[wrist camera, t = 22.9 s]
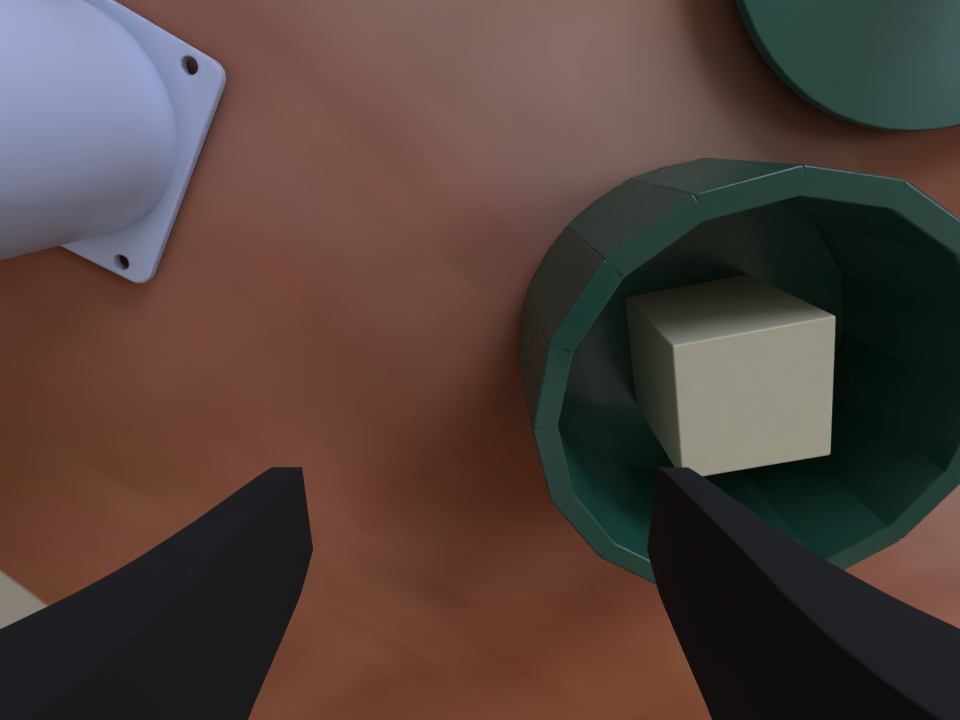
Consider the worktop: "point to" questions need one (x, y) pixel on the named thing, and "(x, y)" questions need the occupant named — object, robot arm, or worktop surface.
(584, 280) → the tea tin
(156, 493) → the worktop surface
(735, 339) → the block
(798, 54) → the tin lid
